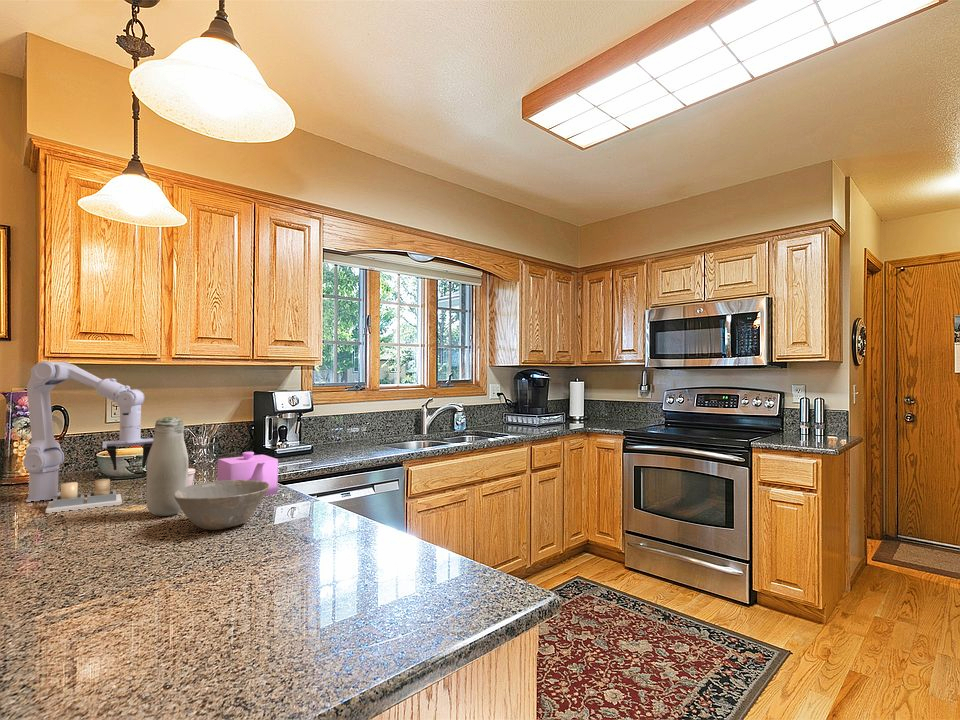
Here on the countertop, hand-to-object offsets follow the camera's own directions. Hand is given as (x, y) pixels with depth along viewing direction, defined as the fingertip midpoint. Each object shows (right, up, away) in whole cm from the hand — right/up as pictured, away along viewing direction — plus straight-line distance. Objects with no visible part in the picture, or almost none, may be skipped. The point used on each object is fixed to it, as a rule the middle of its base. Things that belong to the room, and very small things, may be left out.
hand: (129, 468), depth 169 cm
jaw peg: (-4, -8, -8) cm, 12 cm away
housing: (-7, -9, -10) cm, 15 cm away
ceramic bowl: (+45, -9, -30) cm, 55 cm away
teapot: (+36, -10, +6) cm, 38 cm away
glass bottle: (+25, -9, -20) cm, 33 cm away
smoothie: (+20, -10, -4) cm, 23 cm away
